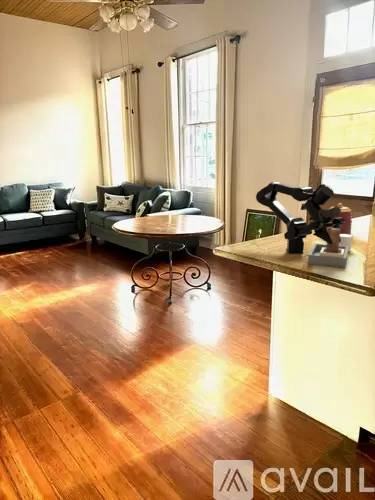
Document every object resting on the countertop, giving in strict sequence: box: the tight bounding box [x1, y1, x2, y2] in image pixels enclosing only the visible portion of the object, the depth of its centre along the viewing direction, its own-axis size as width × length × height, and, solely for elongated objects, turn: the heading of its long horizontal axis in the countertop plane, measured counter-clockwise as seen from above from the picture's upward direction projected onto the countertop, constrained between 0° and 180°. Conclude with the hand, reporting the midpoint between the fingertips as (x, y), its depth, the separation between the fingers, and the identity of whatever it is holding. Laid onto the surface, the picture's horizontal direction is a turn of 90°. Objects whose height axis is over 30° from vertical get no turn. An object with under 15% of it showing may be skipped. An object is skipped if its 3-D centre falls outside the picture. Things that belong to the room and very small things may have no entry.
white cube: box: [339, 234, 354, 252], centre depth 168 cm, size 7×7×7 cm
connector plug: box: [326, 228, 340, 253], centre depth 149 cm, size 5×5×12 cm
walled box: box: [307, 243, 349, 269], centre depth 155 cm, size 14×20×5 cm
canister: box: [327, 202, 354, 235], centre depth 194 cm, size 13×13×18 cm
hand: (335, 242), depth 148 cm, fingers closed on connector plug, 5 cm apart
